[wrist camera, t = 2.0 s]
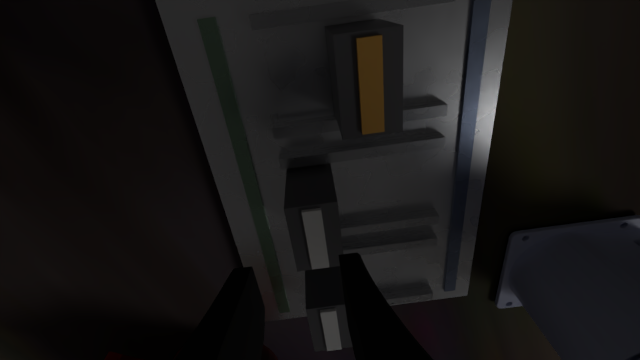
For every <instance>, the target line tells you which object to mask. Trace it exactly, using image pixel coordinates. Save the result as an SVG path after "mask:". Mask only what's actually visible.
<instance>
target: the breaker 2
mask: <svg viewBox="0 0 640 360" xmlns="http://www.w3.org/2000/svg"><path fill="white" fill-rule="evenodd" d="M305 303H306V314H307V318H308V323H309V327H310V332H311V336H312V341H313V346H314V350H315V351H323V350H327V351H332V350H339V349H342V348H346V347H353V345H352V341H351V337H350V333H349V329H348V322H347V315H346V309H345V302H344V294H343V286H342V278H341V270H340V266H336V267H328V268H321V269H313V270H305Z"/></svg>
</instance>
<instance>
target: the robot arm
mask: <svg viewBox="0 0 640 360" xmlns="http://www.w3.org/2000/svg"><path fill="white" fill-rule="evenodd" d="M339 262H340V270H341V278H342V286H343V294H344V302H345V309H346V315H347V322H348V329H349V333H350V337H351V341H352V345H353V350H354V354H355V358H356V360H433V359H432V358H431V357H430V356H429V354H428V353H427V352H426V351H425V350H424V349H423V348H422V346H421V345H420V344H419V343H418V342H417V341H416V339H415V338H414V337H413V336H412V334H411V333H410V332H409V331H408V329H407V328H406V327H405V326H404V324H403V323H402V322H401V320H400V319H399V318H398V316H397V315H396V314H395V312H394V311H393V310H392V308H391V307H390V305H389V304H388V302H387V301H386V299H385V298H384V296H383V295H382V294H381V292H380V291H379V289H378V287H377V286H376V284H375V282H374V281H373V279H372V277H371V276H370V274H369V272H368V270H367V268H366V266H365V264H364V262H363V260H362V258H361V255H360V254H358V253H349V254H342V255H339ZM495 305H496V306H497V307H498V308H509V307H517V306H523V307H524V308H525V309H526V311H527V312H528V314H529V315H530V316H531V318H532V319H533V321H534V322H535V323H536V325H537V326H538V327H539V329H540V330H541V332H542V333H543V334H544V336H545V337H546V338H547V340H548V341H549V343H550V344H551V345H552V347H553V348H554V349H555V351H556V352H557V354H558V355H559V356H560V358H561V359H562V360H640V216H639V215H633V216H626V217H618V218H611V219H603V220H595V221H588V222H580V223H573V224H565V225H558V226H550V227H542V228H535V229H527V230H520V231H515V232H513V233H511V234H510V236H509V239H508V244H507V248H506V253H505V258H504V262H503V267H502V271H501V276H500V280H499V285H498V290H497V294H496V299H495ZM264 326H265V306H264V303H263V299H262V296H261V293H260V290H259V286H258V283H257V280H256V277H255V274H254V270H253V267H252V266H251V267H243V268H236V269H234V270H233V271H232V272H231V274H230V275H229V277H228V279H227V280H226V282H225V284H224V285H223V287H222V289H221V290H220V292H219V294H218V295H217V297H216V299H215V300H214V302H213V303H212V305H211V307H210V308H209V310H208V311H207V313H206V314H205V316H204V317H203V319H202V320H201V322H200V323H199V325H198V326H197V328H196V329H195V331H194V332H193V334H192V335H191V336H190V338H189V339H188V341H187V342H186V343H185V345H184V346H183V348H182V349H181V350H180V352H179V353H178V355H177V356H176V357H175V359H174V360H261V355H262V349H263V341H264Z"/></svg>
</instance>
